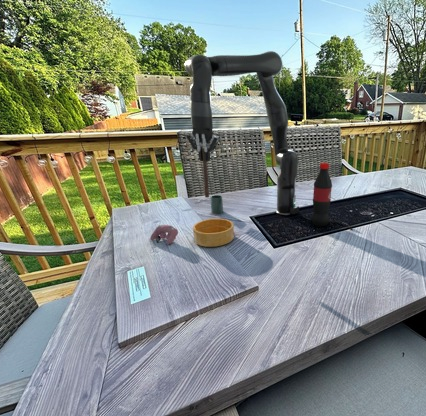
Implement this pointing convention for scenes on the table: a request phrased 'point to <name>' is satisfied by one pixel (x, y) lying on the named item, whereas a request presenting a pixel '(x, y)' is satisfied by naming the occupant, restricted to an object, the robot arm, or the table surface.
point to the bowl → (213, 232)
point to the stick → (205, 174)
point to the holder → (216, 204)
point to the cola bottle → (322, 197)
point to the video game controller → (162, 232)
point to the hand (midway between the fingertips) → (204, 161)
